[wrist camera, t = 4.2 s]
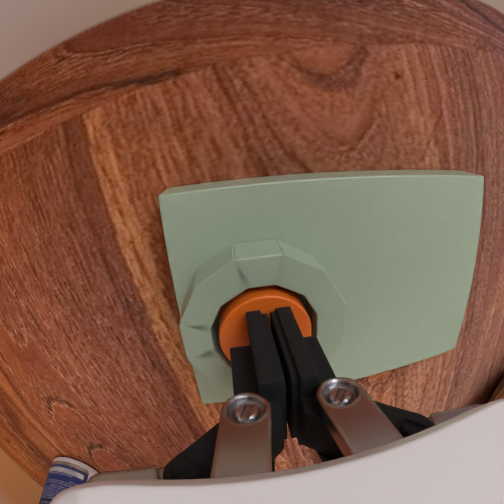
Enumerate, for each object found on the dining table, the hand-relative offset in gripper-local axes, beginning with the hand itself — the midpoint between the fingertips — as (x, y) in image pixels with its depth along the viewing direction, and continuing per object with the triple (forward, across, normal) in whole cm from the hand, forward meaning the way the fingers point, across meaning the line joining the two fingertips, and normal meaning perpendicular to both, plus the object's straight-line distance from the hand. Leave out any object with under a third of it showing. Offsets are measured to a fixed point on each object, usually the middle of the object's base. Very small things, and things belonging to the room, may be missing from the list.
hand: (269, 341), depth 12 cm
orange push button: (+2, 0, 0) cm, 2 cm away
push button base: (+4, -4, 0) cm, 6 cm away
